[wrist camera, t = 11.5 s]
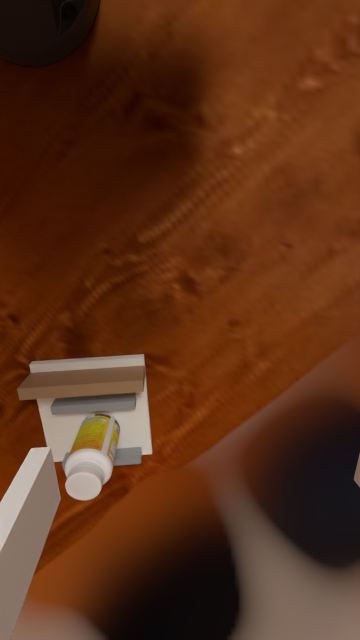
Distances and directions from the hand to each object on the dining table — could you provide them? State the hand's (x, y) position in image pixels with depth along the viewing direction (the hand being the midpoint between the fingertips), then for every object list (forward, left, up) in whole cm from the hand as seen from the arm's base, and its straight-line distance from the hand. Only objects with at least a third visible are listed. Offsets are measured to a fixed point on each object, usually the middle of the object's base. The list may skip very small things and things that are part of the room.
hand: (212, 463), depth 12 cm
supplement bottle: (+17, -12, -26) cm, 33 cm away
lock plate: (+15, -12, -27) cm, 33 cm away
